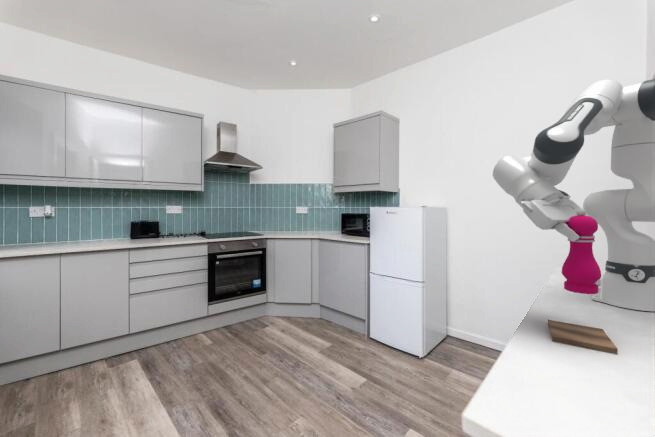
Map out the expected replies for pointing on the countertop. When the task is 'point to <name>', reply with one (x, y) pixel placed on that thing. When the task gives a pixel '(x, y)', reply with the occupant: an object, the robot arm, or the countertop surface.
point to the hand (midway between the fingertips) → (584, 239)
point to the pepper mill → (581, 256)
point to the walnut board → (581, 336)
